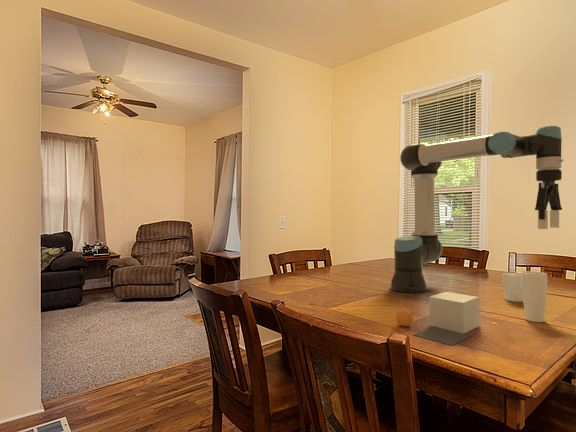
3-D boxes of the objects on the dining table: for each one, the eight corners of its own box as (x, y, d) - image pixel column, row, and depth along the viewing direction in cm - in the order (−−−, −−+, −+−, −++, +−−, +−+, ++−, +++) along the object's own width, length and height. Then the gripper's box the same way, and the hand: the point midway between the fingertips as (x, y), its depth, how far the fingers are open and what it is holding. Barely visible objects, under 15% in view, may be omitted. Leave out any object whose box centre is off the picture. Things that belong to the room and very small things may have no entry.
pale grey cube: (429, 325, 112) (429, 296, 112) (446, 319, 119) (445, 291, 119) (463, 333, 104) (463, 302, 104) (479, 326, 111) (478, 297, 111)
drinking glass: (516, 317, 119) (516, 271, 119) (536, 317, 120) (536, 270, 120) (532, 324, 112) (532, 275, 112) (553, 323, 113) (553, 274, 113)
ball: (392, 325, 112) (392, 309, 112) (401, 322, 116) (401, 306, 116) (407, 329, 109) (406, 312, 109) (416, 326, 112) (416, 309, 112)
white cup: (530, 302, 138) (530, 276, 138) (507, 302, 140) (507, 275, 140) (521, 297, 146) (521, 272, 146) (499, 297, 148) (499, 272, 147)
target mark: (413, 335, 104) (413, 334, 104) (433, 327, 111) (433, 326, 111) (452, 345, 95) (452, 345, 95) (471, 336, 102) (471, 335, 102)
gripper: (550, 166, 123) (550, 229, 123) (570, 171, 139) (570, 227, 139) (524, 168, 129) (525, 229, 129) (547, 172, 145) (547, 226, 145)
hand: (548, 228), depth 134 cm, fingers open, 13 cm apart
